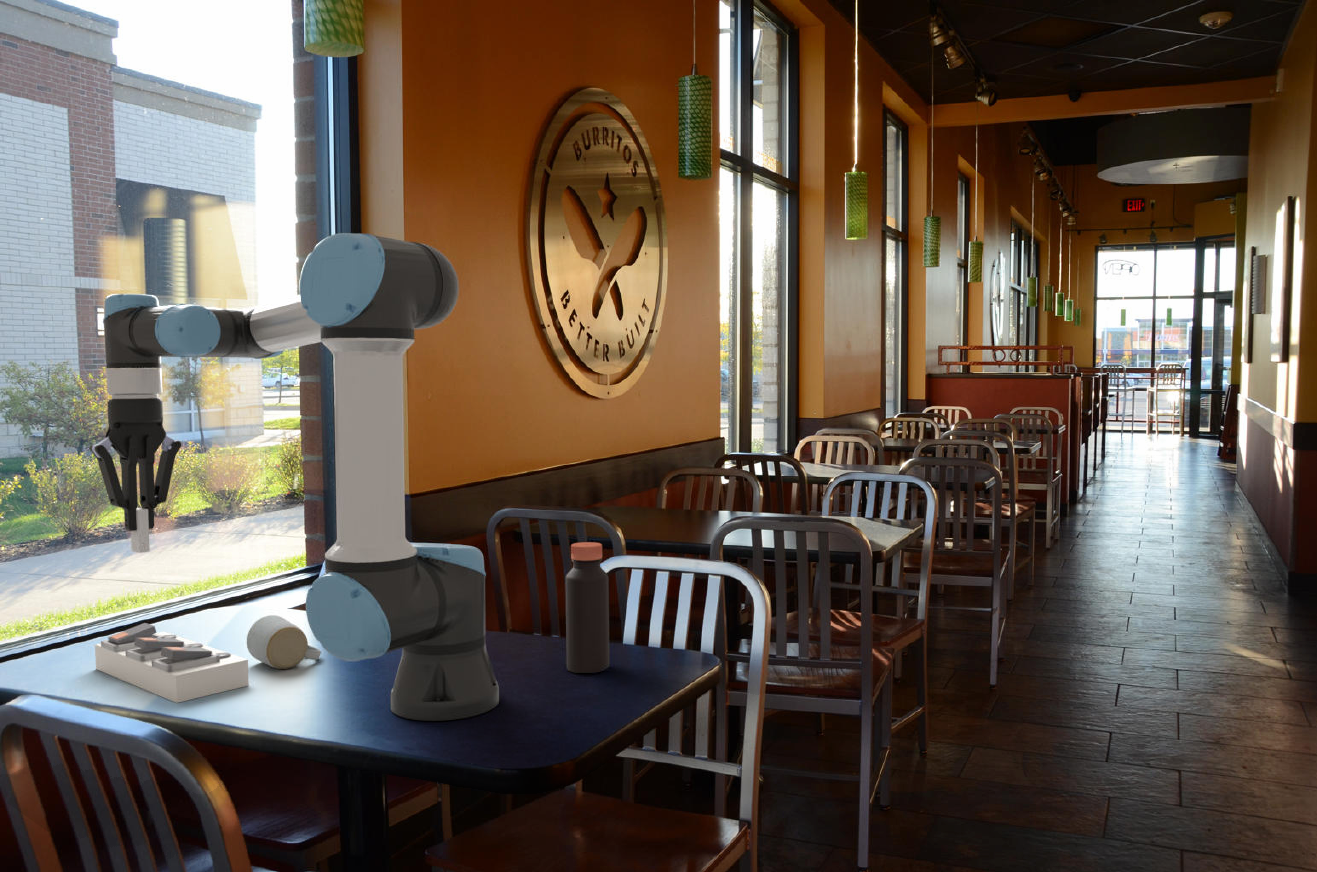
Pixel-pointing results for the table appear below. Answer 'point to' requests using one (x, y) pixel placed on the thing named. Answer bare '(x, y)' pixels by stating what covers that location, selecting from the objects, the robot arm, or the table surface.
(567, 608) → the bottle
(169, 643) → the rocker middle
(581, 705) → the table surface
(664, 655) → the table surface
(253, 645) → the ceramic mug
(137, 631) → the rocker
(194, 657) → the rocker
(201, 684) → the white rocker switch box
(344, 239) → the robot arm
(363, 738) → the table surface
